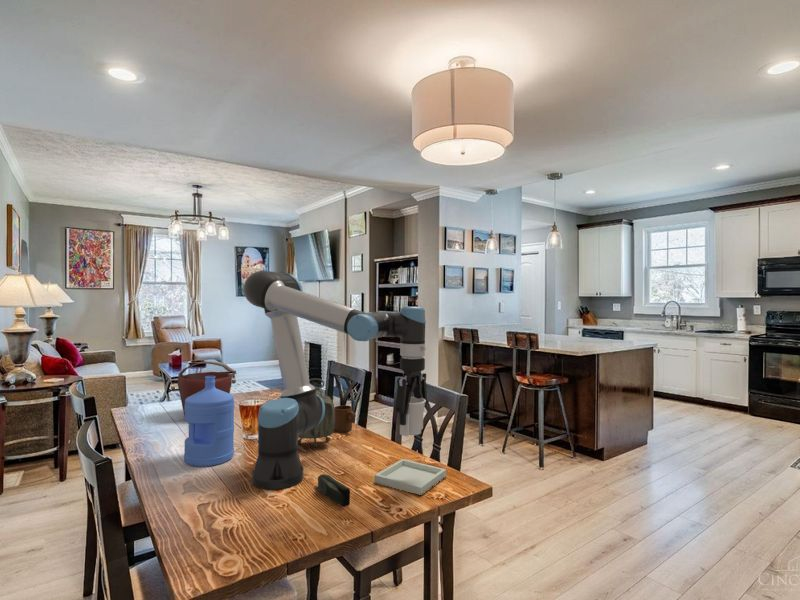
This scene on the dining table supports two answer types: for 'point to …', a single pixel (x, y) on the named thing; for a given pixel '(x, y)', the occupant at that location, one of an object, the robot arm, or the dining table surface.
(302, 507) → the dining table surface
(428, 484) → the tray
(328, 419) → the tabletop clock
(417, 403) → the dixie cup
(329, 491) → the dark green rounded block
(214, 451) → the water jug
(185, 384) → the bucket
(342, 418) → the mug
